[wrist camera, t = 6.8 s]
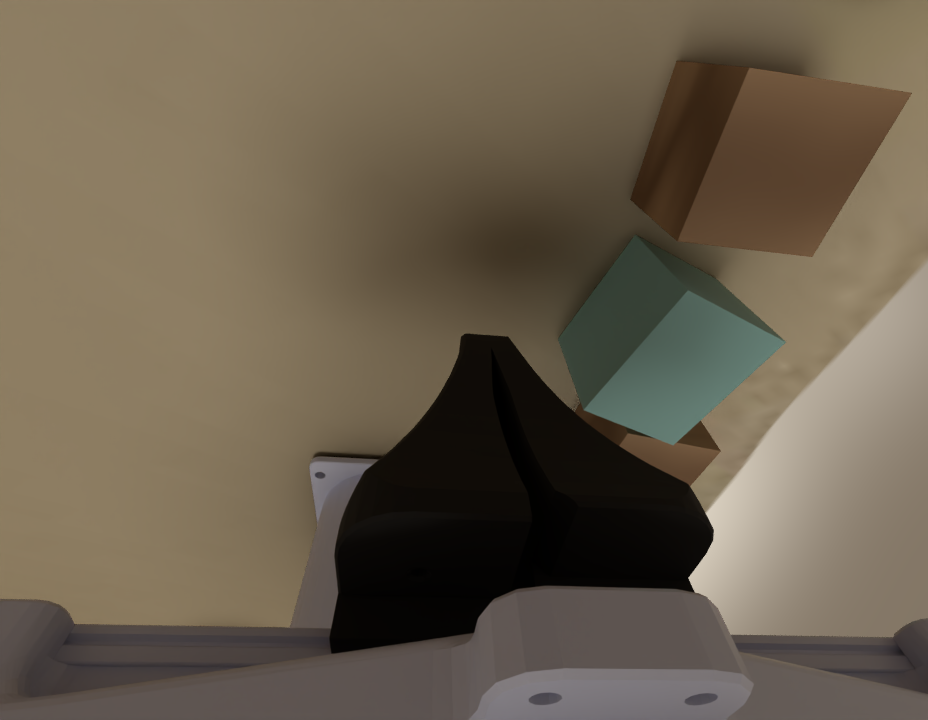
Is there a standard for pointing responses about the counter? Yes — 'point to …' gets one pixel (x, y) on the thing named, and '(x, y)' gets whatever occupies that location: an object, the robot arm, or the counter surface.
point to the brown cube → (759, 155)
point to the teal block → (661, 344)
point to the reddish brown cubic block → (661, 447)
